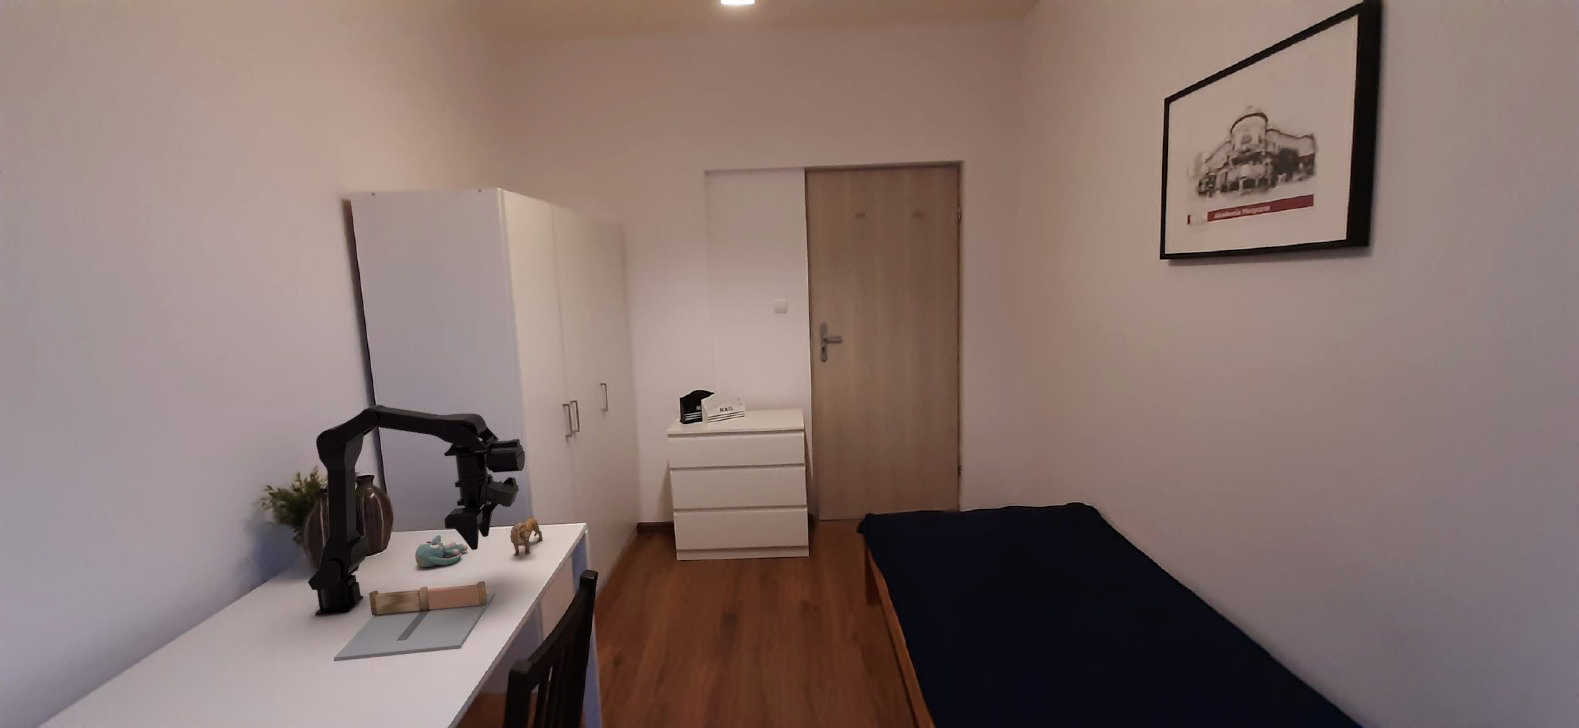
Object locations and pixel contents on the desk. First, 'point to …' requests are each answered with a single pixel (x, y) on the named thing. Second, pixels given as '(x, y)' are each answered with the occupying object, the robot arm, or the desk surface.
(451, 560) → the stuffed animal
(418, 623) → the card
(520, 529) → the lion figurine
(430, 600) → the fence panel
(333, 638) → the desk surface
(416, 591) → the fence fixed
